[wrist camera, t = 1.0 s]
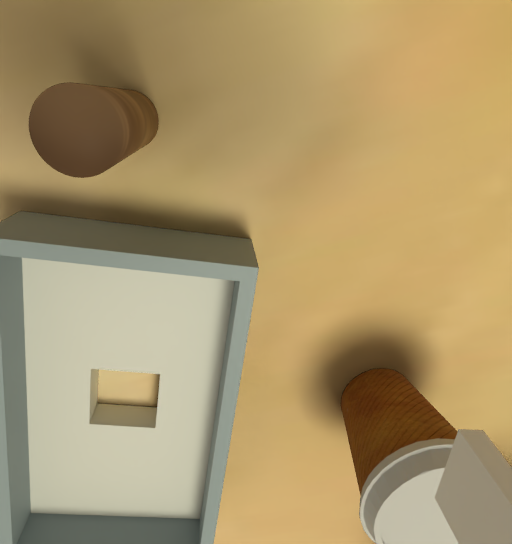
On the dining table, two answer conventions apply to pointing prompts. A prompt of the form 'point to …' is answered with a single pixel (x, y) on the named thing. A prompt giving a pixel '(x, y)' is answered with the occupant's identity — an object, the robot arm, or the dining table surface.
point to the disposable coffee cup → (397, 458)
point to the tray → (118, 357)
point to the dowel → (90, 127)
